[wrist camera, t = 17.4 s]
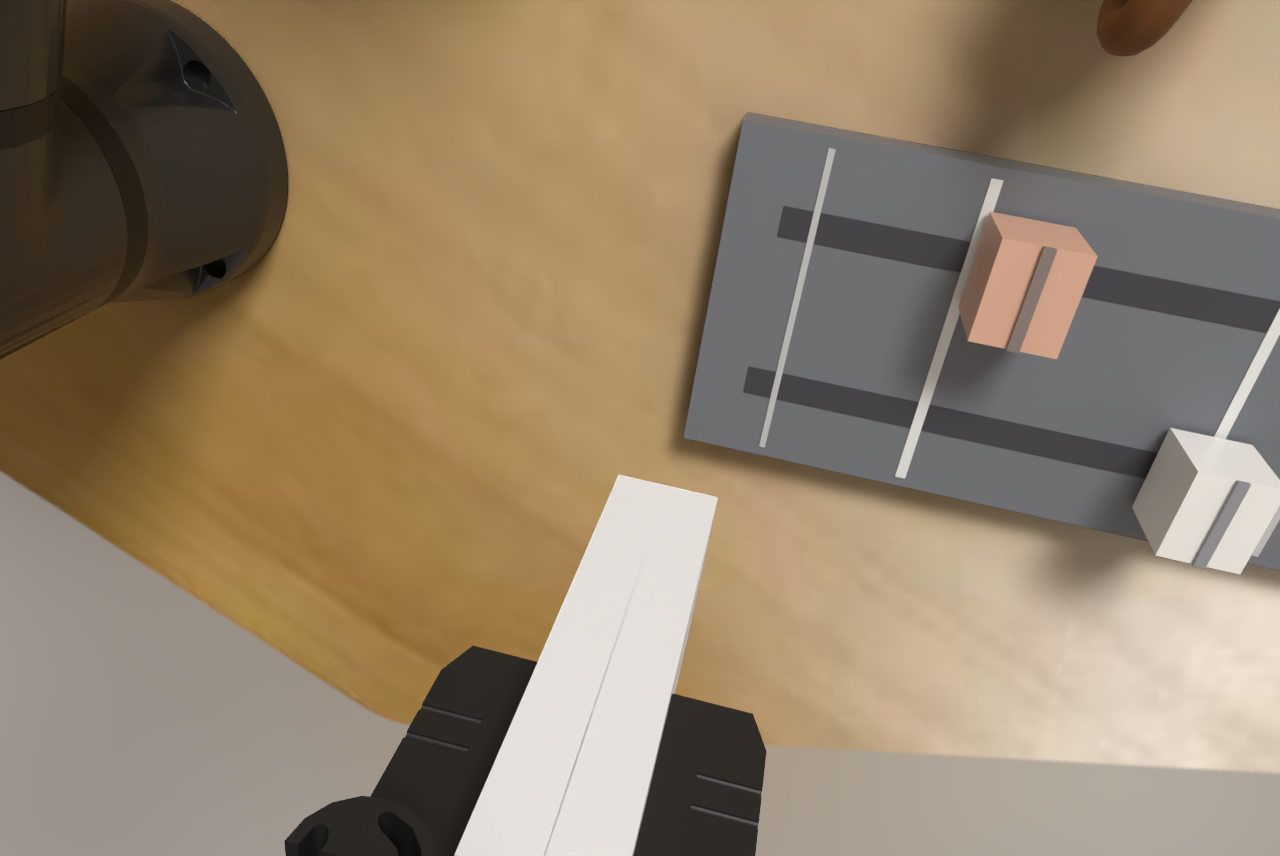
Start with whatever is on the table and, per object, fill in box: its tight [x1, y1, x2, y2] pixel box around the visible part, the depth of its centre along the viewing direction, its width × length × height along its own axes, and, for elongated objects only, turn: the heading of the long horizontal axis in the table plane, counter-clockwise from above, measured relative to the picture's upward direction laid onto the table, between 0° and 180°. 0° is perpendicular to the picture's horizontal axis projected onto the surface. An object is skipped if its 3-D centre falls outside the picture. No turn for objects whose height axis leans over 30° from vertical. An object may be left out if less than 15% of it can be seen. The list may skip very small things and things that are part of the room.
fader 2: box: [1132, 428, 1280, 574], centre depth 42 cm, size 4×4×4 cm
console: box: [684, 112, 1280, 570], centre depth 43 cm, size 32×16×2 cm, turn 81°
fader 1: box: [958, 212, 1098, 359], centre depth 39 cm, size 4×4×4 cm
